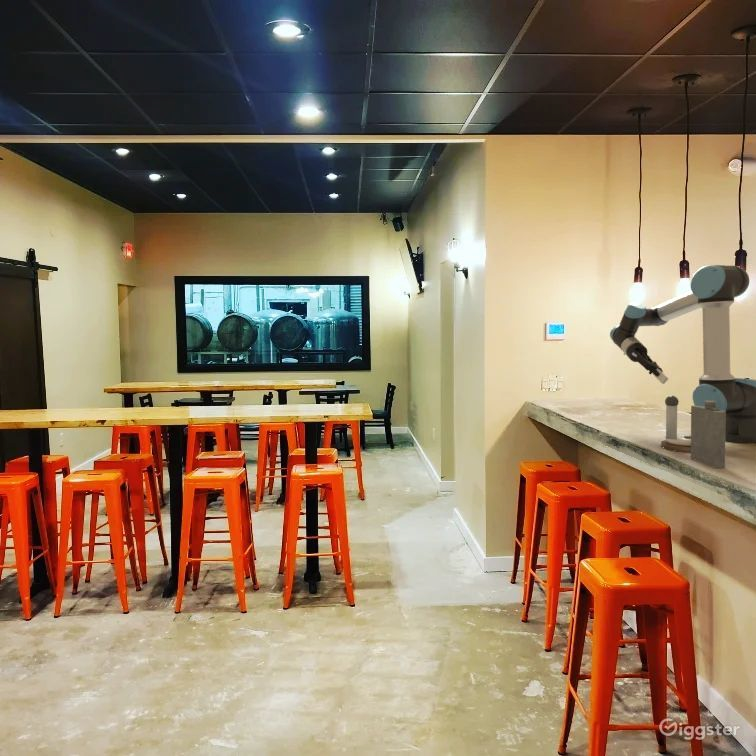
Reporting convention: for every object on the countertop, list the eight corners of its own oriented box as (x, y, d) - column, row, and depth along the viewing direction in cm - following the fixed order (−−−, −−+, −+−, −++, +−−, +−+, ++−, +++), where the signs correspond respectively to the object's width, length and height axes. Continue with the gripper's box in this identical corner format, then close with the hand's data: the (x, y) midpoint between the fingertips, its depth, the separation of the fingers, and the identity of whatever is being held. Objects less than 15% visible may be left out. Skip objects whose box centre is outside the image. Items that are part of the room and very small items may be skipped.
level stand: (701, 441, 233) (701, 427, 232) (727, 451, 215) (727, 436, 214) (652, 443, 233) (652, 429, 232) (674, 453, 215) (674, 438, 215)
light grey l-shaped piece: (701, 437, 231) (701, 392, 229) (720, 445, 215) (721, 397, 214) (657, 438, 232) (657, 393, 230) (673, 446, 217) (673, 398, 215)
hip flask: (688, 457, 208) (689, 398, 206) (700, 457, 208) (701, 397, 206) (717, 468, 192) (718, 404, 190) (729, 468, 192) (730, 403, 190)
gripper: (639, 362, 261) (669, 394, 241) (617, 351, 256) (646, 382, 236) (651, 348, 258) (683, 379, 238) (629, 336, 253) (660, 367, 233)
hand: (664, 380), depth 237 cm, fingers closed
